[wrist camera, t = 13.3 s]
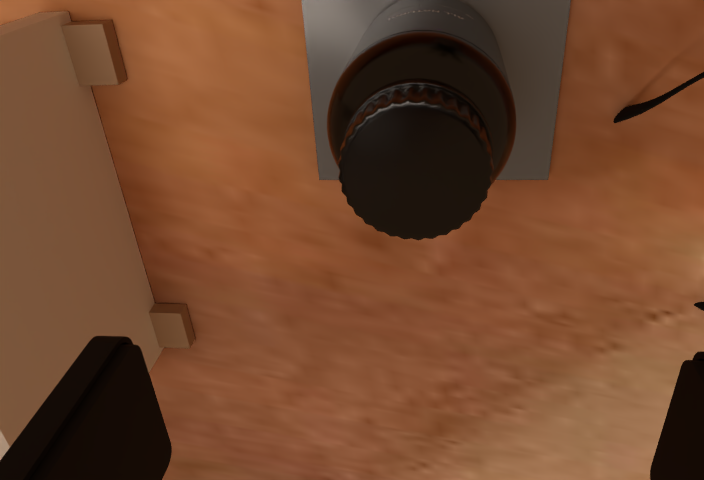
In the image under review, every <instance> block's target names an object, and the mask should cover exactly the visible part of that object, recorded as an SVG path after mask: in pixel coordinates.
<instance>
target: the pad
mask: <svg viewBox="0 0 704 480" xmlns="http://www.w3.org/2000/svg"><path fill="white" fill-rule="evenodd" d="M398 1H400V0H302V9H303V19H304V29H305V39H306V50H307V60H308V70H309V80H310V90H311V100H312V110H313V120H314V131H315V141H316V151H317V161H318V171H319V180H339V178H338V176H339V172H340V170H339V168H338V166H337V164H336V162H335V160H334V158H333V155H332V153H331V149H330V146H329V141H328V135H327V114H328V107H329V103H330V99H331V96H332V93H333V90H334V88H335V86H336V83H337V81H338V79H339V77H340V76H341V74H342V72H343V70H344V68H345V67H346V65H347V63H348V61H349V59H350V58H351V56H352V54H353V52H354V50H355V49H356V47H357V45H358V43H359V41H360V40H361V38H362V36H363V34H364V33H365V31H366V30H367V28H368V27H369V26H370V24H371V23H372V22H373V21H374V19H375V18H376V17H377V16H378V15H379V14H380V13H382V12H383V11H384V10H385V9H387V8H388V7H390V6H391V5H393V4H394V3H396V2H398ZM460 1H462V2H464V3H466V4H467V5H469V6H470V7H472V8H473V9H474V10H476V11H477V12H478V13H479V14H480V15H481V16H482V17H483V18H484V19H485V21H486V22H487V23H488V25H489V26H490V28H491V29H492V31H493V33H494V35H495V37H496V40H497V42H498V45H499V48H500V51H501V55H502V58H503V62H504V65H505V69H506V72H507V76H508V79H509V83H510V87H511V90H512V94H513V98H514V102H515V109H516V135H515V141H514V145H513V148H512V152H511V154H510V156H509V159H508V161H507V163H506V165H505V167H504V169H503V170H502V172H501V173H500V175H499V176H498V177H497V178H496V180H548V177H549V169H550V161H551V153H552V145H553V138H554V130H555V122H556V114H557V106H558V98H559V90H560V82H561V74H562V66H563V58H564V50H565V42H566V34H567V26H568V18H569V11H570V3H571V0H460Z"/></svg>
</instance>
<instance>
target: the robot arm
mask: <svg viewBox="0 0 704 480" xmlns="http://www.w3.org/2000/svg"><path fill="white" fill-rule="evenodd" d="M171 451H172V450H171V442H170V439H169V436H168V433H167V429H166V426H165V423H164V420H163V417H162V414H161V410H160V407H159V404H158V401H157V398H156V395H155V391H154V388H153V385H152V382H151V379H150V376H149V372H148V369H147V366H146V363H145V360H144V357H143V353H142V350H141V348H140V347H139V346H138V345H134V344H133V342H132V340H131V339H130V338H129V337H125V336H95V337H93V338H92V339H91V340H90V341H89V342H88V344H87V345H86V346H85V348H84V349H83V350H82V352H81V353H80V354H79V356H78V357H77V358H76V360H75V361H74V363H73V364H72V365H71V367H70V368H69V369H68V371H67V372H66V373H65V375H64V376H63V377H62V379H61V380H60V381H59V383H58V384H57V385H56V387H55V388H54V389H53V391H52V392H51V393H50V395H49V396H48V397H47V399H46V400H45V401H44V403H43V404H42V405H41V407H40V408H39V409H38V411H37V412H36V413H35V415H34V416H33V417H32V419H31V420H30V421H29V423H28V424H27V425H26V427H25V428H24V429H23V431H22V432H21V433H20V435H19V436H18V437H17V439H16V440H15V441H14V443H13V444H12V445H11V447H10V448H9V449H8V451H7V452H6V453H5V455H4V456H3V457H2V459H1V460H0V480H162V478H163V476H164V474H165V472H166V470H167V467H168V465H169V462H170V458H171ZM650 479H651V480H704V352H697V353H696V354H695V355H694V357H693V360H685V361H684V362H683V364H682V366H681V369H680V373H679V376H678V379H677V383H676V386H675V389H674V392H673V396H672V399H671V402H670V406H669V409H668V412H667V416H666V419H665V422H664V426H663V429H662V432H661V435H660V439H659V442H658V445H657V449H656V452H655V455H654V459H653V462H652V465H651V470H650Z"/></svg>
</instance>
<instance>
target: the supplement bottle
mask: <svg viewBox="0 0 704 480" xmlns="http://www.w3.org/2000/svg"><path fill="white" fill-rule="evenodd" d="M327 135H328V141H329V146H330V149H331V153H332V155H333V158H334V160H335V162H336V164H337V166H338V168H339V170H340V172H339V176H338V178H339V180H340V182H341V183H342V192H343V193H344V195H345V196H346V197H347V203H348V204H349V205H350V206H352V207H353V209H354V211H355V214H356V215H358V216H359V217H361V218H363V220H364V222H365V223H366V224H368V225H372V226H373V227H374V228H375V229H376V230H377V231H380V232H385V233H387V234H388V235H390V236H398V237H400V238H403V239H410V238H412V239H416V240H421V239H423V238H429V239H433V238H435V237H437V236H438V235H447V234H448V233H449V232H450V231H451V230H455V229H459V228H460V227H461V225H462V224H463V223H464V222H467V221H469V220H470V219H471V218H472V215H473V214H474V213H475V212H477V211H478V210H480V207H481V203H482V202H483V201H484V200H485V199H486V198H487V193H488V191H487V190H488V189H489V188H490V186H491V184H492V183H493V182H494V181H495V180H496V178H497V177H498V176H499V175H500V173H501V172H502V170H503V169H504V167H505V165H506V163H507V161H508V159H509V156H510V154H511V152H512V148H513V145H514V141H515V135H516V109H515V102H514V98H513V94H512V90H511V87H510V83H509V79H508V76H507V72H506V69H505V65H504V62H503V58H502V55H501V51H500V48H499V45H498V42H497V40H496V37H495V35H494V33H493V31H492V29H491V28H490V26H489V25H488V23H487V22H486V21H485V19H484V18H483V17H482V16H481V15H480V14H479V13H478V12H477V11H476V10H474V9H473V8H472V7H470V6H469V5H467V4H466V3H464V2H462V1H460V0H400V1H398V2H396V3H394V4H393V5H391V6H390V7H388V8H387V9H385V10H384V11H383V12H382V13H380V14H379V15H378V16H377V17H376V18H375V19H374V21H373V22H372V23H371V24H370V26H369V27H368V28H367V30H366V31H365V33H364V34H363V36H362V38H361V40H360V41H359V43H358V45H357V47H356V49H355V50H354V52H353V54H352V56H351V58H350V59H349V61H348V63H347V65H346V67H345V68H344V70H343V72H342V74H341V76H340V77H339V79H338V81H337V83H336V86H335V88H334V90H333V93H332V96H331V99H330V103H329V107H328V114H327Z"/></svg>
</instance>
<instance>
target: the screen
mask: <svg viewBox="0 0 704 480" xmlns="http://www.w3.org/2000/svg"><path fill="white" fill-rule="evenodd" d="M125 80H127V76H126V72H125V68H124V65H123V61H122V57H121V53H120V49H119V45H118V42H117V38H116V34H115V30H114V26H113V22H112V20H98V21H73V22H71V18H70V15H69V12H68V11H61V12H39V13H36V14H33V15H30V16H27V17H24V18H21V19H18V20H15V21H12V22H9V23H6V24H3V25H0V460H1V459H2V457H3V456H4V455H5V453H6V452H7V451H8V449H9V448H10V447H11V445H12V444H13V443H14V441H15V440H16V439H17V437H18V436H19V435H20V433H21V432H22V431H23V429H24V428H25V427H26V425H27V424H28V423H29V421H30V420H31V419H32V417H33V416H34V415H35V413H36V412H37V411H38V409H39V408H40V407H41V405H42V404H43V403H44V401H45V400H46V399H47V397H48V396H49V395H50V393H51V392H52V391H53V389H54V388H55V387H56V385H57V384H58V383H59V381H60V380H61V379H62V377H63V376H64V375H65V373H66V372H67V371H68V369H69V368H70V367H71V365H72V364H73V363H74V361H75V360H76V358H77V357H78V356H79V354H80V353H81V352H82V350H83V349H84V348H85V346H86V345H87V344H88V342H89V341H90V340H91V339H92V338H93V337H95V336H125V337H129V338H130V339H131V340H132V342H133V344H134V345H138V346H139V347H140V348H141V350H142V353H143V357H144V360H145V363H146V366H147V369H148V372H149V373H150V371H151V369H152V367H153V366H154V364H155V362H156V361H157V359H158V357H159V355H160V354H161V352H162V350H163V349H164V348H187V349H190V348H191V346H192V344H193V342H194V340H195V336H194V332H193V328H192V324H191V321H190V317H189V313H188V309H187V305H186V304H162V303H155V302H154V298H153V295H152V292H151V288H150V285H149V281H148V278H147V275H146V271H145V268H144V265H143V261H142V258H141V254H140V251H139V248H138V244H137V241H136V238H135V234H134V231H133V228H132V224H131V221H130V217H129V214H128V211H127V207H126V204H125V201H124V197H123V194H122V190H121V187H120V184H119V180H118V177H117V174H116V170H115V167H114V163H113V160H112V157H111V153H110V150H109V147H108V143H107V140H106V136H105V133H104V130H103V126H102V123H101V120H100V116H99V113H98V109H97V106H96V103H95V99H94V96H93V93H92V89H91V86H93V85H119V84H121V83H122V82H124V81H125Z"/></svg>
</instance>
